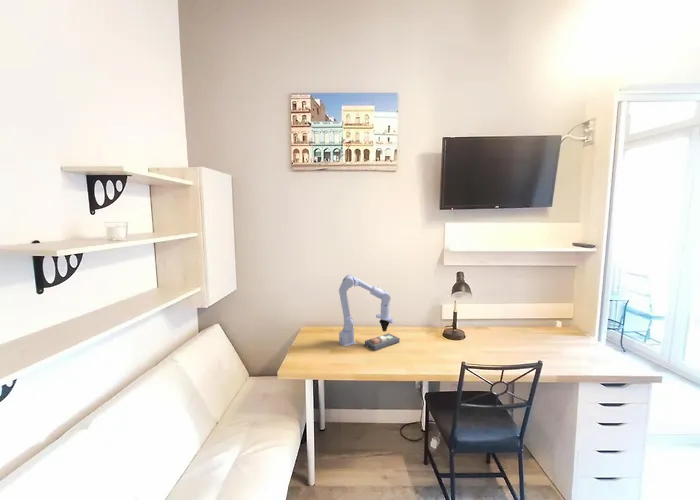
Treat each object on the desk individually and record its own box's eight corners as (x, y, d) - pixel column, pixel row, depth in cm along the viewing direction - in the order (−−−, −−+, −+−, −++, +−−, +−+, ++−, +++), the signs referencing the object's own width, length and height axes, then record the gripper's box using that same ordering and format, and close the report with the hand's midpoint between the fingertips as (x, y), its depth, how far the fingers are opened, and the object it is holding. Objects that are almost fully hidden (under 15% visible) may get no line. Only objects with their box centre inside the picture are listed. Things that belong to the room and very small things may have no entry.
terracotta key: (375, 344, 206) (375, 341, 206) (371, 341, 209) (371, 339, 209) (379, 342, 209) (380, 339, 208) (375, 340, 212) (375, 337, 212)
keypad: (375, 351, 203) (375, 346, 202) (364, 345, 211) (364, 340, 210) (399, 342, 215) (399, 338, 215) (388, 337, 223) (388, 333, 223)
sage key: (389, 341, 214) (389, 338, 213) (384, 339, 217) (384, 336, 217) (393, 339, 216) (393, 337, 216) (389, 337, 219) (389, 335, 219)
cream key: (382, 341, 210) (382, 339, 210) (378, 339, 213) (378, 337, 213) (386, 340, 212) (386, 337, 212) (382, 338, 215) (382, 335, 215)
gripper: (397, 312, 208) (396, 333, 210) (381, 306, 219) (381, 326, 221) (389, 314, 204) (389, 335, 206) (373, 308, 215) (373, 328, 217)
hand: (384, 331), depth 213 cm, fingers closed
